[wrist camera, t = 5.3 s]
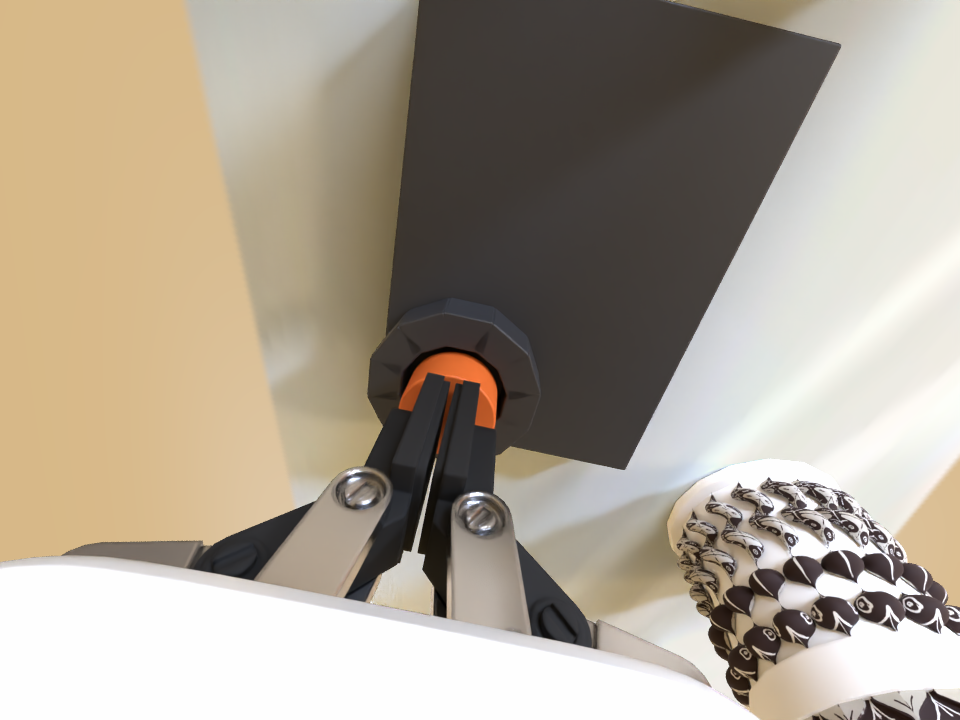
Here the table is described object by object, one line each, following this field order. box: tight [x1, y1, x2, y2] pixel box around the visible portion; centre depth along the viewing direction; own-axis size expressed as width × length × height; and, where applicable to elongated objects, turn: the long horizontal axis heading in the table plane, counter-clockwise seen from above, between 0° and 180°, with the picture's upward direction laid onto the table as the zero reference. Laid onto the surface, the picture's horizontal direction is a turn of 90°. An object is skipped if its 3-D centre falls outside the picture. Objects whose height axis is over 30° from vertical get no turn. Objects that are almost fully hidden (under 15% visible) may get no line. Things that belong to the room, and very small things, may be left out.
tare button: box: [399, 352, 497, 454], centre depth 13 cm, size 3×3×2 cm
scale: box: [367, 0, 841, 470], centre depth 13 cm, size 15×11×4 cm
